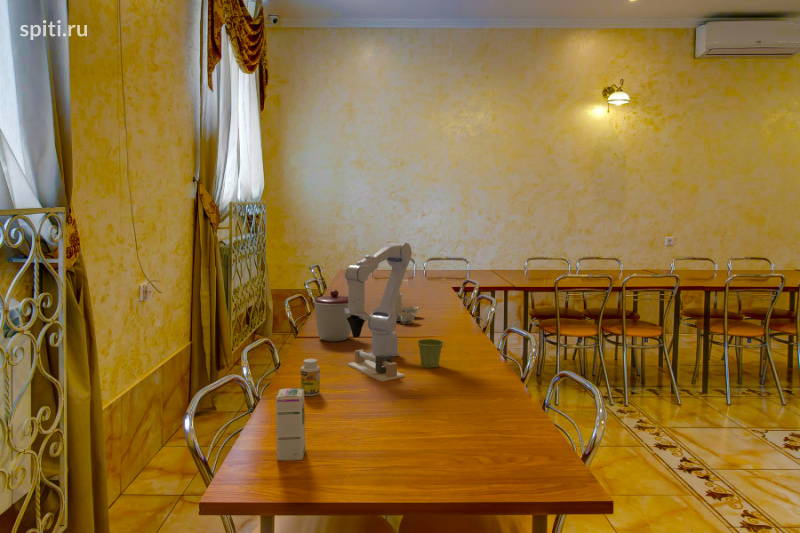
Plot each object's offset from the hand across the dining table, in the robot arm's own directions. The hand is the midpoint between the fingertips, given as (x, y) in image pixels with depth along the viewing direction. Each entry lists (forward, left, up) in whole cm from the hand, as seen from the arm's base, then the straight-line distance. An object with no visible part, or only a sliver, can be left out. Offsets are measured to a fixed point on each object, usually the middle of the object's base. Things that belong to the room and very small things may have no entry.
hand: (356, 336), depth 199 cm
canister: (-12, -39, -10) cm, 42 cm away
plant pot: (-21, +16, -10) cm, 28 cm away
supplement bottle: (+28, +21, -10) cm, 36 cm away
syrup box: (+50, +57, -10) cm, 76 cm away
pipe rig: (-1, +11, -10) cm, 15 cm away
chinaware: (-60, -58, -10) cm, 84 cm away
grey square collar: (-1, +17, -8) cm, 19 cm away
